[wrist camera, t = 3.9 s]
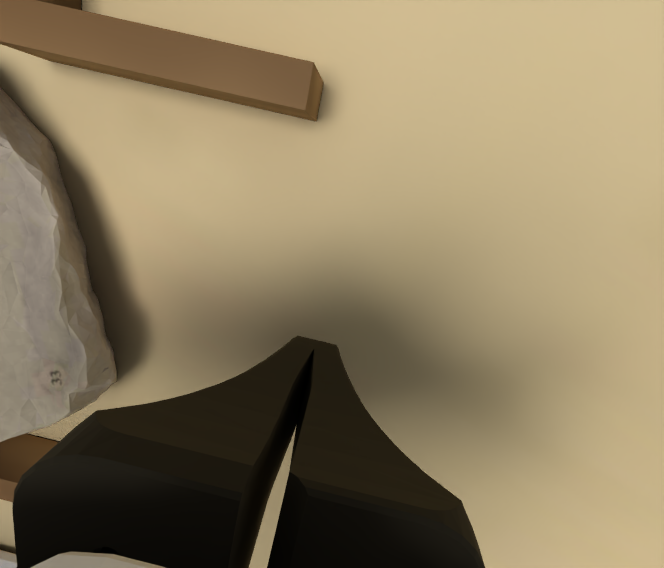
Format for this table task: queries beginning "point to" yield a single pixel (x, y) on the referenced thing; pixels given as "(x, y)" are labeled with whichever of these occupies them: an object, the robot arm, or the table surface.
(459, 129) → the table surface
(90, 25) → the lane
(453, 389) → the table surface
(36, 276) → the stone block
